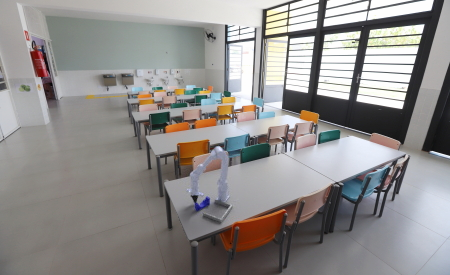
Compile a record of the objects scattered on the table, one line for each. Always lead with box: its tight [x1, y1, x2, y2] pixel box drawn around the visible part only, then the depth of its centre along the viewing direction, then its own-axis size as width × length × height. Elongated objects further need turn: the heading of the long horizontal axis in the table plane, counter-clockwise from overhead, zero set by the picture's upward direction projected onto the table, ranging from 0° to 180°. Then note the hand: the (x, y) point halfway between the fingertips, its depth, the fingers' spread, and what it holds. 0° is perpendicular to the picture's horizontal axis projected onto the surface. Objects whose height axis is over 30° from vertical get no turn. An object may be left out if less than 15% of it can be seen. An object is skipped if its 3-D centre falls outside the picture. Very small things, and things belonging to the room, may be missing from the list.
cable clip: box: [194, 196, 211, 212], centre depth 166 cm, size 12×4×6 cm, turn 134°
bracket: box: [202, 198, 233, 223], centre depth 161 cm, size 18×14×2 cm
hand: (195, 202), depth 169 cm, fingers closed
